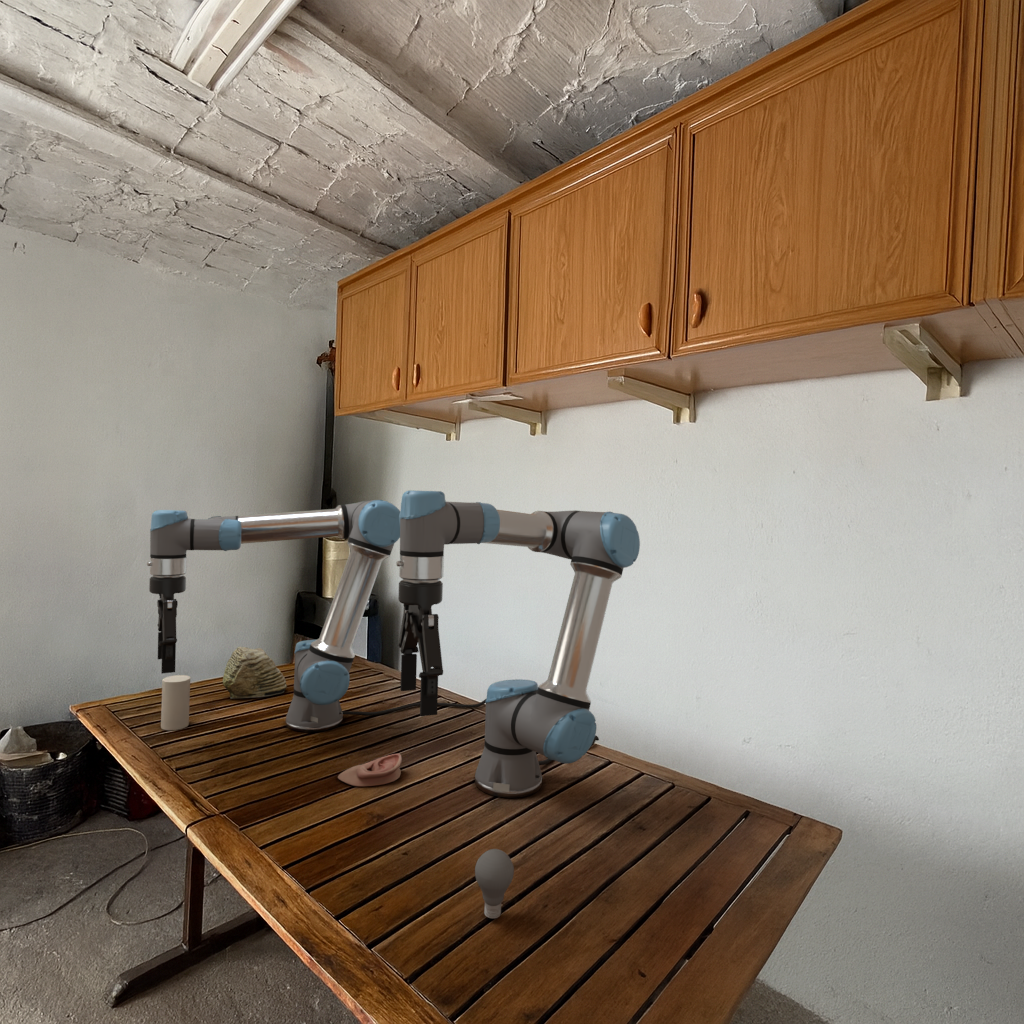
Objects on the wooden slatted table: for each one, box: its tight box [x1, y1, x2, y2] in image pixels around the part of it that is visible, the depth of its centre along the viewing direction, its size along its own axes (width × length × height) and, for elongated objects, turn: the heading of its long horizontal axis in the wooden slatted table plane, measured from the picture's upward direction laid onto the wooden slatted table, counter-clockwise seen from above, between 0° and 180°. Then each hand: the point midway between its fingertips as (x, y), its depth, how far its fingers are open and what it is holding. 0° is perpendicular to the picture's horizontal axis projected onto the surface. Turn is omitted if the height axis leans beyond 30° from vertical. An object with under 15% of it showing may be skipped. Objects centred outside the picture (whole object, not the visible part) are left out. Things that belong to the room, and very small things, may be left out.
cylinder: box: [160, 674, 191, 731], centre depth 170 cm, size 7×7×13 cm
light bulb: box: [474, 848, 515, 919], centre depth 98 cm, size 6×6×10 cm
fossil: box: [222, 646, 288, 699], centre depth 198 cm, size 9×18×15 cm, turn 132°
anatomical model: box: [337, 753, 403, 787], centre depth 144 cm, size 13×4×12 cm
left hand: (166, 665), depth 149 cm, fingers open, 13 cm apart
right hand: (417, 701), depth 110 cm, fingers open, 13 cm apart
